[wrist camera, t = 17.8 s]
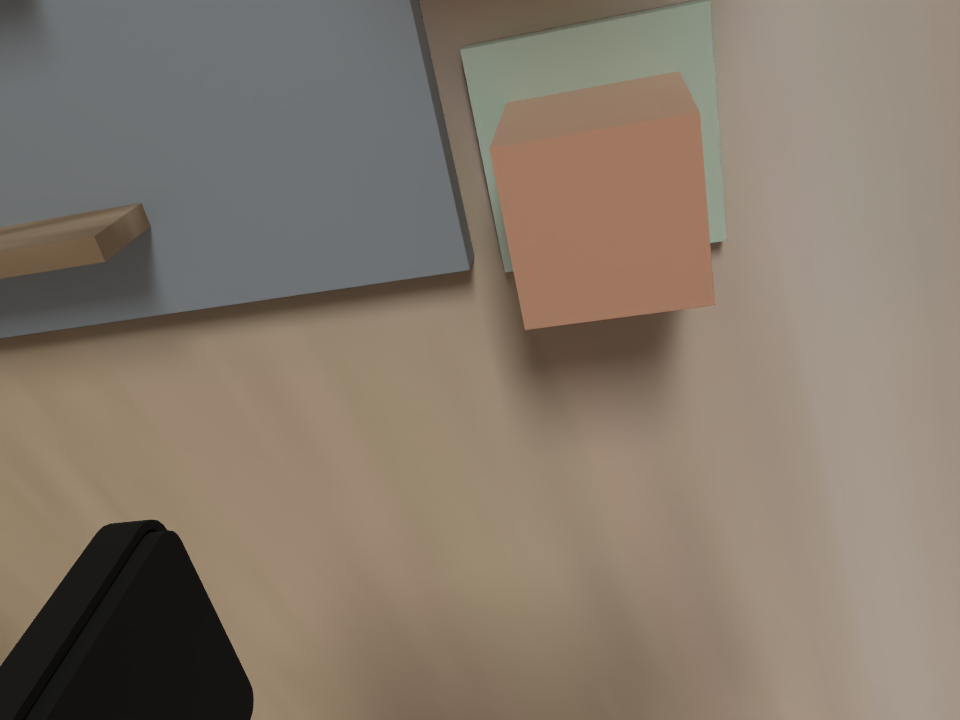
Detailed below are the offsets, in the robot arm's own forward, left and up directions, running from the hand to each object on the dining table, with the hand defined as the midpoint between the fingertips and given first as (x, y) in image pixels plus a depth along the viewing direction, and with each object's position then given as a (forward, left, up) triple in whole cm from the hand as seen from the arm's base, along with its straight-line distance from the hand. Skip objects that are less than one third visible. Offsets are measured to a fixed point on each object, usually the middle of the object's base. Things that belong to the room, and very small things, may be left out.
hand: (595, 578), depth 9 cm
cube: (+1, 0, -18) cm, 18 cm away
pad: (0, 0, -19) cm, 19 cm away
